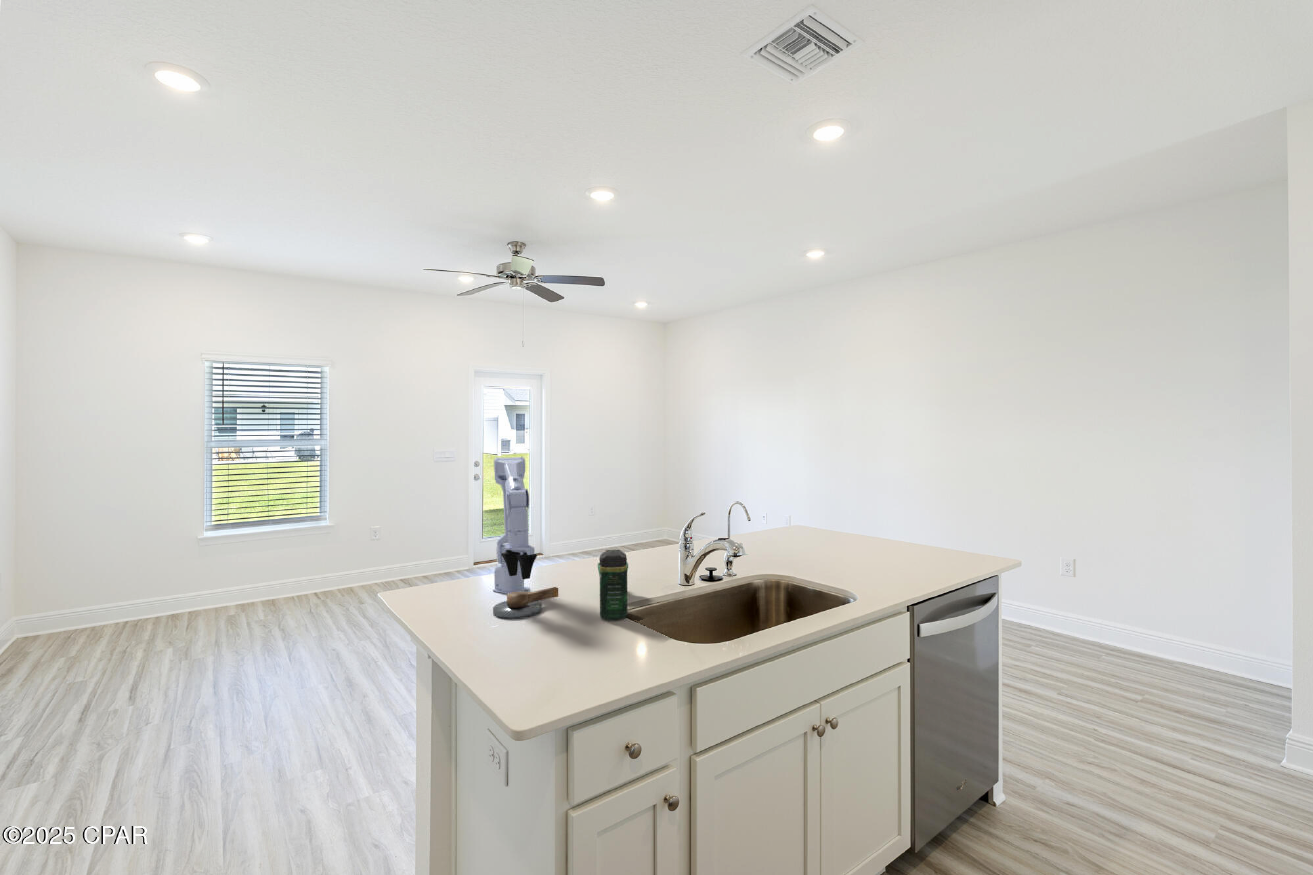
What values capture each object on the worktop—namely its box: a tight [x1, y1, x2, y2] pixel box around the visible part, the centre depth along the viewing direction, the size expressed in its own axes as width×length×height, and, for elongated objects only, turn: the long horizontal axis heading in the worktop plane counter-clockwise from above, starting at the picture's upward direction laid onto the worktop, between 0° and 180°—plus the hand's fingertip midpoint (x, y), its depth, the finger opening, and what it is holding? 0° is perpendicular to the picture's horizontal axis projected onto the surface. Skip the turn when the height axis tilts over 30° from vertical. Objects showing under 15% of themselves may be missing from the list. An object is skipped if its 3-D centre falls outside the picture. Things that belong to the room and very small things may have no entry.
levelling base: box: [492, 600, 543, 620], centre depth 174 cm, size 14×14×2 cm
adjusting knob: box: [506, 586, 559, 608], centre depth 177 cm, size 16×6×3 cm, turn 128°
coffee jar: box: [598, 549, 628, 622], centre depth 168 cm, size 10×8×19 cm
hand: (519, 577), depth 174 cm, fingers open, 7 cm apart
